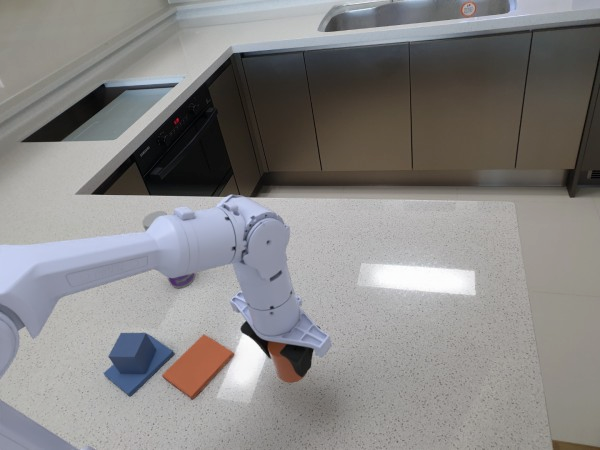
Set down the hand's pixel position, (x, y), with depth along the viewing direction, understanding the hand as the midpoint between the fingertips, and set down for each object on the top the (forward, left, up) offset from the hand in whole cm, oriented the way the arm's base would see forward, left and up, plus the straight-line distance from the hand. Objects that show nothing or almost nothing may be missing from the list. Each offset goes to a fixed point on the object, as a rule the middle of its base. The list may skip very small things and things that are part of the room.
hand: (290, 362), depth 61 cm
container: (+7, +34, -7) cm, 36 cm away
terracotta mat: (-5, +16, -7) cm, 19 cm away
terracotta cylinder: (0, 0, -1) cm, 1 cm away
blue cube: (-10, +26, -6) cm, 28 cm away
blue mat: (-10, +25, -7) cm, 28 cm away
